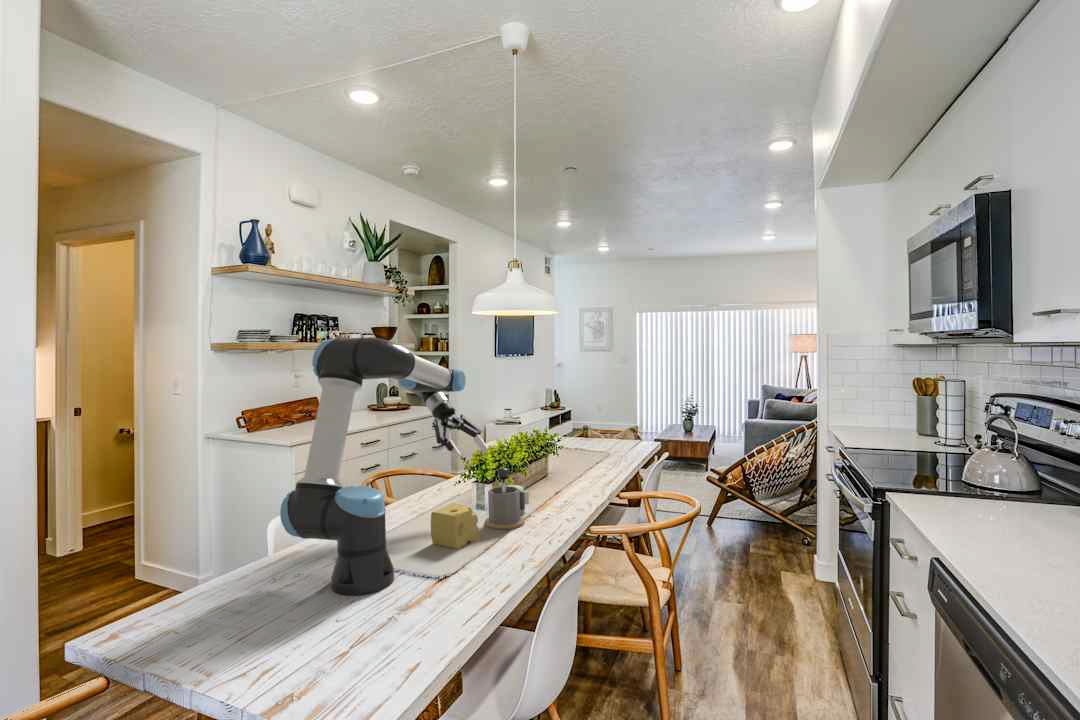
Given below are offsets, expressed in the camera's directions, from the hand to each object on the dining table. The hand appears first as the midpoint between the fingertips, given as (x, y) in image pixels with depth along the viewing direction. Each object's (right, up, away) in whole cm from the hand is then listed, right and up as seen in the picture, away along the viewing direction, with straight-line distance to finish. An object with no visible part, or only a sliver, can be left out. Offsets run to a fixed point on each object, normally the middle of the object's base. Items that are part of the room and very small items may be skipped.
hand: (472, 453), depth 191 cm
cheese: (-3, -23, -22) cm, 32 cm away
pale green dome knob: (+15, -21, +4) cm, 26 cm away
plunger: (+11, -20, -7) cm, 24 cm away
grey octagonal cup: (+11, -22, -6) cm, 25 cm away
